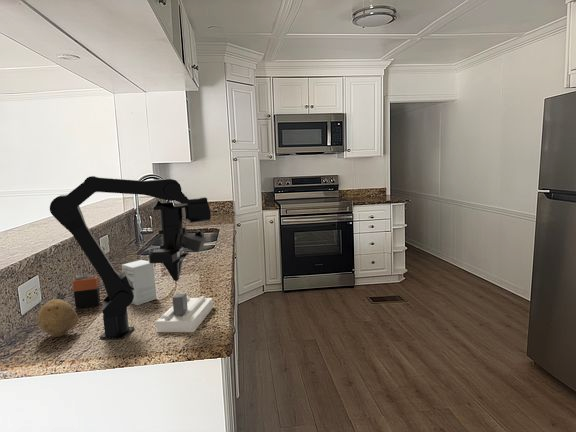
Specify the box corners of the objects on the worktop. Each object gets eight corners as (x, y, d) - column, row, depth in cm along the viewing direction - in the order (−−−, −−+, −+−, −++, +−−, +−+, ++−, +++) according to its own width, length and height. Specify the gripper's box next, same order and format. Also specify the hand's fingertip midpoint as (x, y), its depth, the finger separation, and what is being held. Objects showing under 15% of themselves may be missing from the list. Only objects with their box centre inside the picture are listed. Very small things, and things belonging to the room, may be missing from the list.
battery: (78, 304, 133) (74, 274, 131) (100, 301, 135) (97, 272, 133) (75, 309, 128) (71, 278, 127) (98, 305, 130) (95, 275, 129)
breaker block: (193, 332, 106) (192, 317, 106) (157, 332, 107) (155, 317, 107) (213, 307, 124) (212, 294, 123) (181, 307, 125) (180, 295, 124)
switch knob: (184, 315, 109) (182, 297, 109) (174, 315, 110) (172, 297, 109) (187, 311, 112) (186, 293, 112) (178, 311, 113) (176, 293, 112)
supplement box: (145, 295, 139) (141, 259, 137) (157, 299, 134) (153, 262, 132) (124, 301, 133) (120, 264, 131) (136, 305, 128) (132, 267, 127)
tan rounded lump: (32, 338, 107) (27, 302, 106) (66, 326, 114) (62, 292, 113) (50, 345, 102) (44, 307, 101) (84, 332, 109) (79, 297, 108)
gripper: (188, 230, 100) (192, 291, 102) (210, 219, 119) (214, 271, 121) (145, 231, 102) (150, 291, 104) (174, 220, 120) (178, 271, 122)
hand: (176, 280), depth 112 cm, fingers closed
